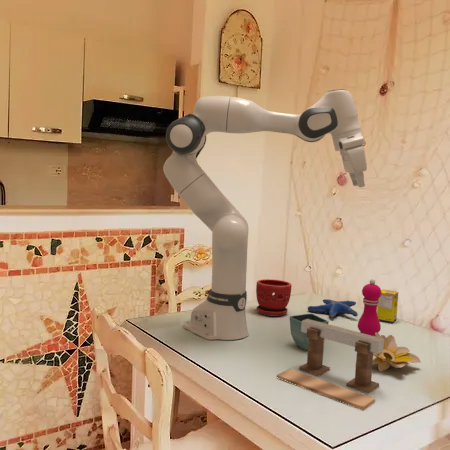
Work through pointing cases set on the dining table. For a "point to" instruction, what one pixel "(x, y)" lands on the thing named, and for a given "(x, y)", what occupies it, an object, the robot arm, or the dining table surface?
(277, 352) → the dining table surface
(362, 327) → the pepper mill
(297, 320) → the flower pot
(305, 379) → the light wood flat board
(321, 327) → the steel rail
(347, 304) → the starfish
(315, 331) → the walnut post
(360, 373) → the walnut post
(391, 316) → the supplement box
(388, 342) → the decorative flower
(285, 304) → the plant pot
